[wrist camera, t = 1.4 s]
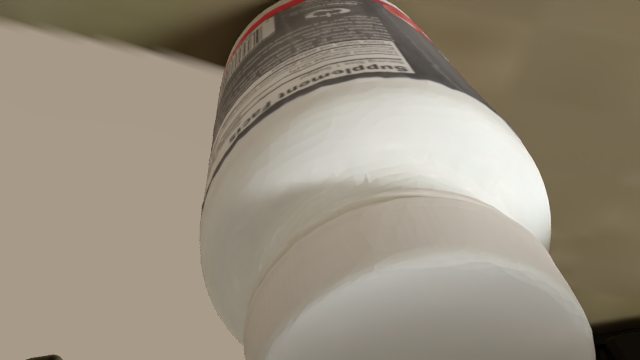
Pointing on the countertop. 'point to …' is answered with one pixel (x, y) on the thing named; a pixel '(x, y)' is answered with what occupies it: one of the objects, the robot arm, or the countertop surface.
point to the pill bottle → (374, 201)
